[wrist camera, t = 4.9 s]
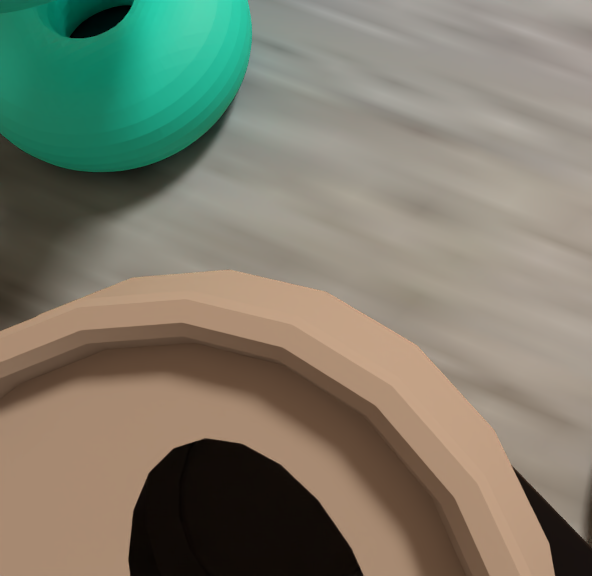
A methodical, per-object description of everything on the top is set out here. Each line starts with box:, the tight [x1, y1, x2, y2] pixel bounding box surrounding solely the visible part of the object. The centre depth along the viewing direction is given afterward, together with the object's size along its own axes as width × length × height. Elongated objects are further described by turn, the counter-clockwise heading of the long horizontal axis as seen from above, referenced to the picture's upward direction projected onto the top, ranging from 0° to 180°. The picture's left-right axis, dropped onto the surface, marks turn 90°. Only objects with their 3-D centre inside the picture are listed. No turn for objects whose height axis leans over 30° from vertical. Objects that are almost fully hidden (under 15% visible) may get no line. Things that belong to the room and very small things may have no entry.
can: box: [0, 270, 555, 576], centre depth 9 cm, size 8×8×12 cm
